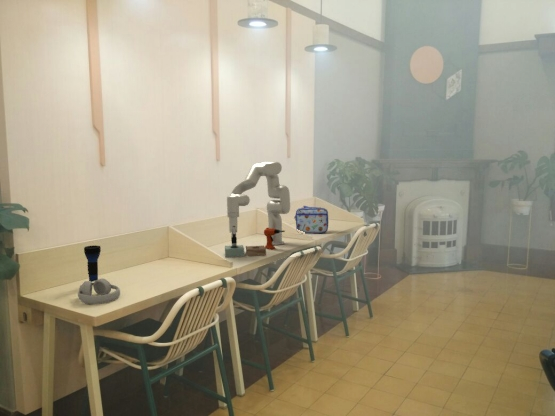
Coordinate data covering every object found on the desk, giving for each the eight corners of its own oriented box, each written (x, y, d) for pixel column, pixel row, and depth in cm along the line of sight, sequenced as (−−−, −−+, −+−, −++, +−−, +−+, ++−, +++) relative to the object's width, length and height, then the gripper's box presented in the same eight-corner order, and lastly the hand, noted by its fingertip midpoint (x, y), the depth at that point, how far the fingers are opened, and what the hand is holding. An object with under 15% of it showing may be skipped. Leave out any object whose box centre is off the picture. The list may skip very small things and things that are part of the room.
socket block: (246, 252, 331) (245, 246, 331) (264, 251, 333) (263, 245, 332) (247, 256, 320) (247, 249, 319) (266, 255, 321) (265, 249, 321)
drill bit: (231, 249, 325) (231, 234, 324) (236, 249, 326) (236, 234, 325) (231, 250, 322) (231, 235, 321) (236, 250, 323) (236, 234, 321)
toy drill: (284, 249, 330) (281, 227, 330) (263, 249, 342) (261, 228, 342) (289, 248, 334) (286, 226, 333) (268, 248, 346) (265, 227, 346)
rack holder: (224, 253, 330) (224, 245, 329) (243, 252, 331) (242, 244, 331) (225, 257, 318) (225, 249, 317) (244, 256, 319) (244, 248, 319)
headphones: (72, 295, 237) (84, 312, 221) (71, 280, 235) (84, 295, 219) (110, 288, 247) (125, 303, 232) (110, 274, 246) (125, 288, 230)
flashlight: (105, 284, 258) (103, 246, 255) (90, 287, 252) (87, 248, 250) (98, 281, 263) (96, 244, 261) (83, 284, 258) (81, 246, 255)
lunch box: (293, 234, 398) (293, 206, 395) (295, 231, 408) (294, 205, 406) (328, 234, 394) (328, 206, 392) (328, 232, 404) (328, 205, 402)
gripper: (227, 213, 329) (227, 240, 331) (227, 216, 313) (228, 245, 315) (238, 213, 330) (239, 240, 332) (239, 216, 314) (240, 244, 316)
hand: (234, 242), depth 323 cm, fingers closed on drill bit, 3 cm apart
